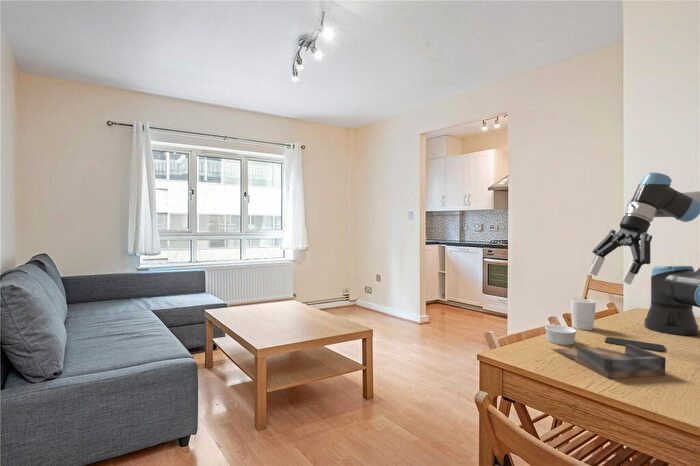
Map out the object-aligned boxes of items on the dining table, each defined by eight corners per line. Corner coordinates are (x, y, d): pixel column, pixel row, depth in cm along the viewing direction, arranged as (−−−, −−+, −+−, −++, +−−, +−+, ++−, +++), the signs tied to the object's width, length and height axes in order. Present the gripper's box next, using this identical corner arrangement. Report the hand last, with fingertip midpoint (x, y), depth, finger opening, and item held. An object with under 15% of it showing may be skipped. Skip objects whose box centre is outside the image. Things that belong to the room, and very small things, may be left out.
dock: (597, 350, 121) (598, 332, 121) (665, 379, 99) (665, 357, 98) (550, 352, 119) (550, 334, 119) (607, 382, 96) (608, 360, 96)
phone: (606, 336, 130) (664, 345, 121) (606, 339, 130) (664, 347, 121) (604, 341, 125) (664, 351, 115) (604, 344, 125) (664, 353, 115)
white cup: (599, 331, 138) (599, 303, 138) (574, 330, 139) (575, 302, 139) (590, 325, 146) (590, 299, 145) (567, 324, 147) (567, 298, 147)
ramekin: (578, 347, 121) (579, 333, 120) (547, 344, 123) (547, 331, 123) (572, 339, 129) (572, 326, 129) (543, 336, 132) (543, 324, 132)
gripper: (598, 212, 137) (572, 267, 137) (664, 215, 112) (632, 281, 113) (615, 221, 138) (588, 275, 138) (684, 226, 113) (652, 291, 114)
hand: (608, 278), depth 125 cm, fingers open, 13 cm apart
